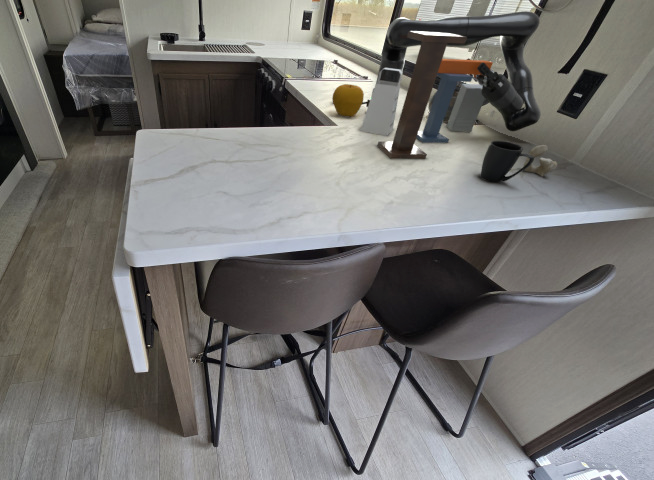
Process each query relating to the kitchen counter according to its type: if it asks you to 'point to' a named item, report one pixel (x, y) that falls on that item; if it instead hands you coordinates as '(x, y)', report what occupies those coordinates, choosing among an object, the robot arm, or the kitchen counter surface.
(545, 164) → the bone
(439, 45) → the tall stand
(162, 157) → the kitchen counter surface
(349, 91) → the apple
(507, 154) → the mug
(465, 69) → the orange wooden plank
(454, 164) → the kitchen counter surface
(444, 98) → the lower shelf
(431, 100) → the bowl
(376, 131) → the grater
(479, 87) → the cosmetic box
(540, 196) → the kitchen counter surface
